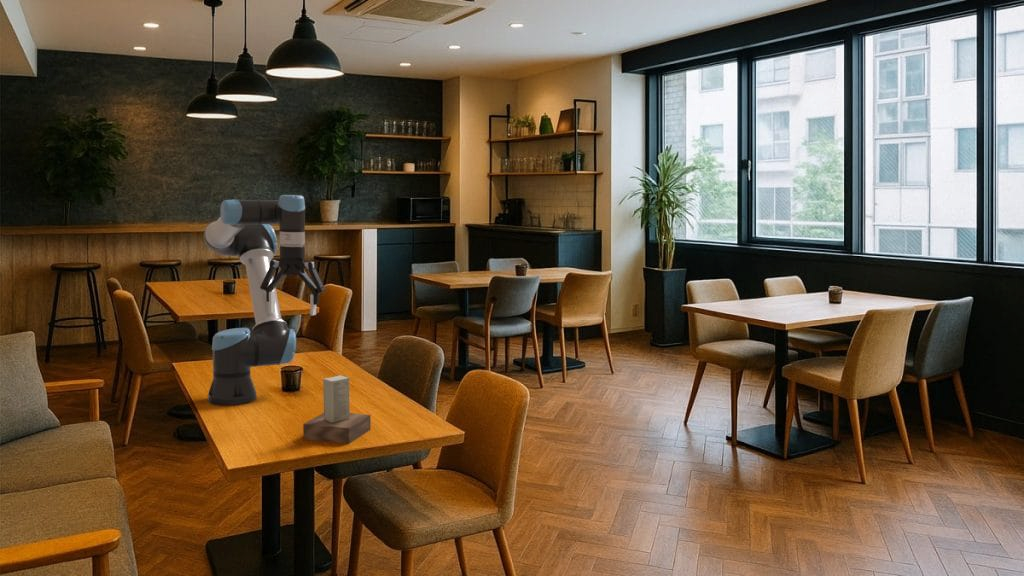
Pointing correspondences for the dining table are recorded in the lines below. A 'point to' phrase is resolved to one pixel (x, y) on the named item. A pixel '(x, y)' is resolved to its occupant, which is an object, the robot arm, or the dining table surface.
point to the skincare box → (336, 398)
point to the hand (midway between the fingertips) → (292, 313)
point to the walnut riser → (337, 428)
